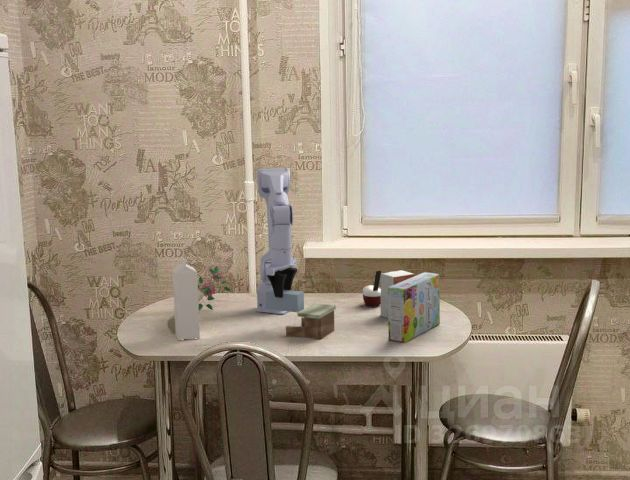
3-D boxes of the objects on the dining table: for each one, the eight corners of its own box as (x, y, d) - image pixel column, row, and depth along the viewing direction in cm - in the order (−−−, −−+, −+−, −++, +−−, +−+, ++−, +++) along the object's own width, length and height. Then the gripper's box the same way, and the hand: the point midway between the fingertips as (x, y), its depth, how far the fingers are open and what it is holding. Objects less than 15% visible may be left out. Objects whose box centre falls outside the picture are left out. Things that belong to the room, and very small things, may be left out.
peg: (266, 308, 224) (265, 291, 223) (273, 305, 228) (272, 288, 227) (297, 312, 220) (297, 295, 219) (304, 309, 224) (303, 291, 223)
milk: (178, 341, 216) (173, 262, 212) (175, 335, 221) (171, 257, 217) (200, 338, 217) (196, 260, 213) (197, 332, 223) (193, 256, 219)
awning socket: (284, 336, 219) (284, 311, 218) (303, 325, 229) (302, 301, 228) (319, 340, 214) (318, 315, 213) (336, 329, 224) (336, 305, 223)
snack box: (423, 321, 231) (423, 271, 228) (440, 324, 228) (441, 273, 225) (386, 340, 214) (386, 286, 211) (405, 343, 211) (405, 288, 208)
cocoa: (363, 303, 254) (361, 266, 253) (382, 302, 254) (381, 265, 252) (363, 309, 245) (361, 271, 243) (383, 309, 244) (382, 270, 243)
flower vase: (168, 355, 227) (202, 299, 259) (206, 345, 224) (235, 290, 256) (151, 320, 223) (187, 268, 255) (190, 310, 220) (221, 258, 252)
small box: (393, 320, 233) (393, 277, 231) (380, 315, 238) (380, 273, 236) (414, 315, 237) (414, 273, 235) (400, 311, 243) (401, 269, 240)
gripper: (282, 253, 213) (283, 302, 215) (305, 244, 226) (306, 290, 228) (259, 252, 216) (260, 300, 218) (283, 243, 229) (284, 288, 231)
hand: (282, 295), depth 224 cm, fingers closed on peg, 4 cm apart
